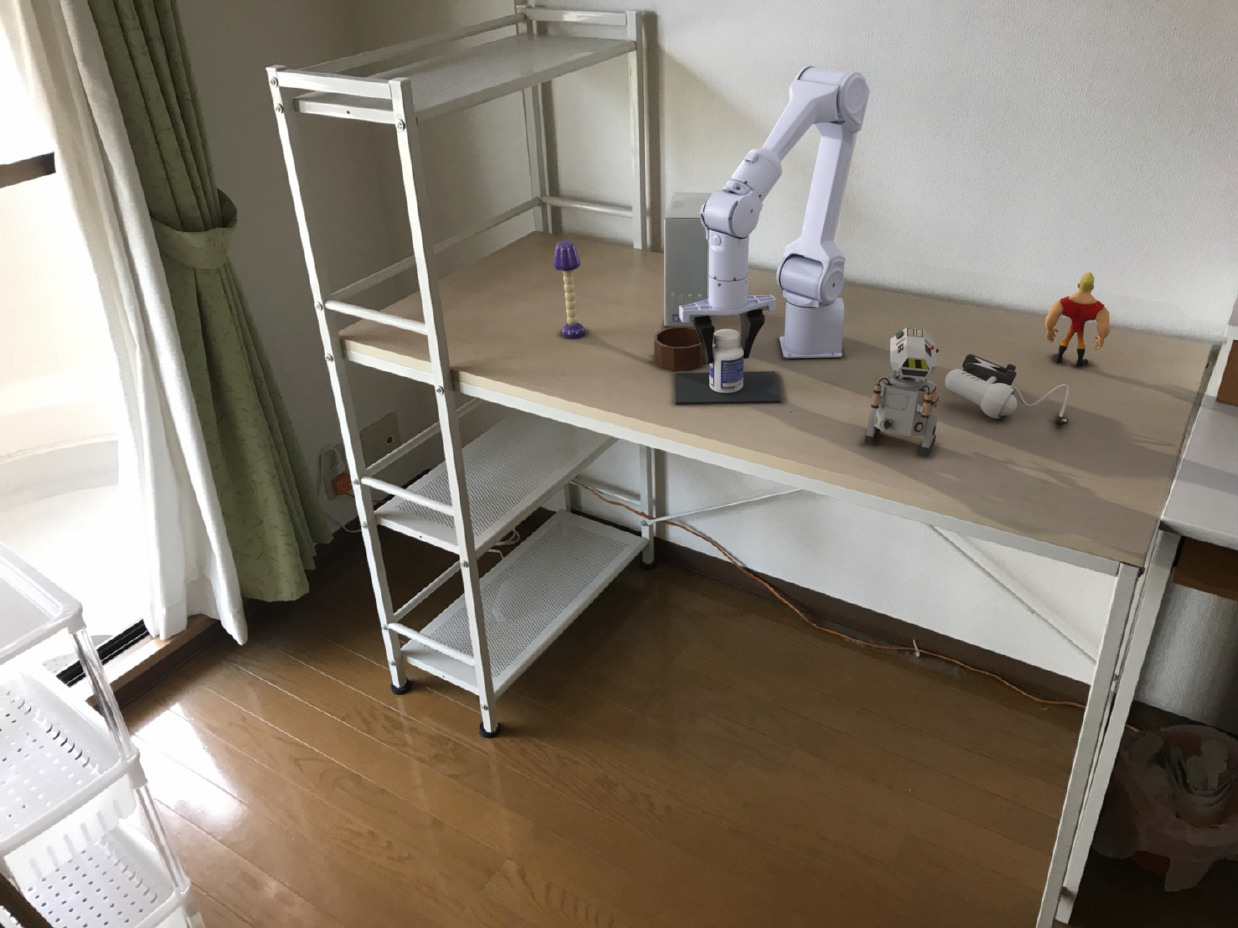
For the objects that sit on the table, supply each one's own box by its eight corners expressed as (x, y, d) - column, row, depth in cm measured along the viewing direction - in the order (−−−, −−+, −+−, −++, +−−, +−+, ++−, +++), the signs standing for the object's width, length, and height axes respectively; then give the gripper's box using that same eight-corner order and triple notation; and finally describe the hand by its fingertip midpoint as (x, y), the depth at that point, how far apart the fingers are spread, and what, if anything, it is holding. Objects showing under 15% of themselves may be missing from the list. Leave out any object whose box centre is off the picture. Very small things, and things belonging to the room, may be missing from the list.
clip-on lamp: (1071, 425, 147) (960, 372, 155) (1091, 389, 144) (976, 336, 151) (1048, 452, 139) (932, 395, 146) (1069, 415, 135) (949, 358, 143)
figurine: (944, 425, 143) (958, 329, 135) (925, 463, 134) (939, 363, 127) (881, 413, 147) (892, 319, 139) (859, 449, 138) (869, 351, 130)
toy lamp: (581, 340, 173) (575, 248, 164) (555, 339, 174) (548, 247, 165) (587, 329, 177) (582, 238, 168) (562, 328, 178) (555, 237, 169)
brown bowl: (705, 347, 169) (705, 325, 167) (707, 369, 161) (707, 347, 159) (654, 348, 169) (654, 326, 167) (654, 370, 162) (653, 348, 160)
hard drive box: (707, 329, 175) (708, 218, 165) (663, 328, 176) (662, 218, 166) (713, 295, 188) (715, 191, 178) (673, 294, 189) (672, 190, 179)
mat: (774, 373, 159) (774, 371, 159) (780, 402, 151) (781, 400, 151) (674, 375, 160) (674, 373, 160) (675, 404, 152) (675, 402, 151)
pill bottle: (749, 383, 156) (750, 331, 151) (733, 397, 152) (734, 344, 147) (719, 376, 158) (720, 324, 154) (702, 389, 155) (703, 336, 150)
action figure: (1103, 363, 158) (1124, 273, 150) (1099, 372, 155) (1121, 281, 147) (1040, 352, 162) (1058, 264, 154) (1036, 361, 159) (1053, 272, 152)
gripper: (765, 260, 150) (762, 342, 157) (673, 270, 148) (674, 353, 155) (782, 275, 144) (778, 360, 151) (686, 287, 142) (686, 373, 149)
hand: (726, 358), depth 153 cm, fingers closed on pill bottle, 5 cm apart
